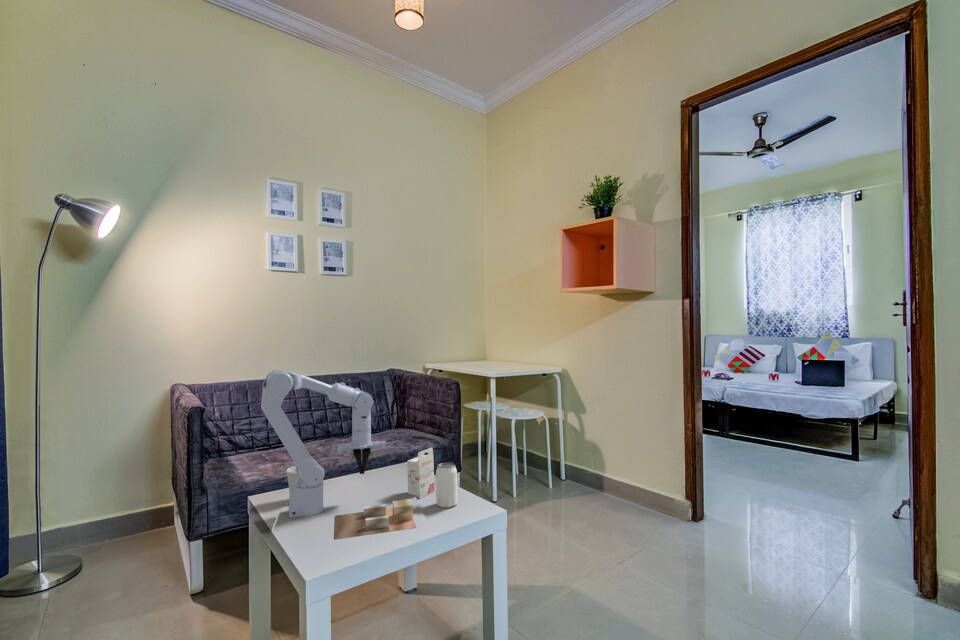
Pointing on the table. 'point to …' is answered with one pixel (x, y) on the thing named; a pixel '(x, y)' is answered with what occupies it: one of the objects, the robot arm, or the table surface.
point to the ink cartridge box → (421, 474)
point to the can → (446, 485)
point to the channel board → (368, 522)
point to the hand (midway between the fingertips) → (361, 472)
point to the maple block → (402, 510)
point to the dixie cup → (292, 476)
